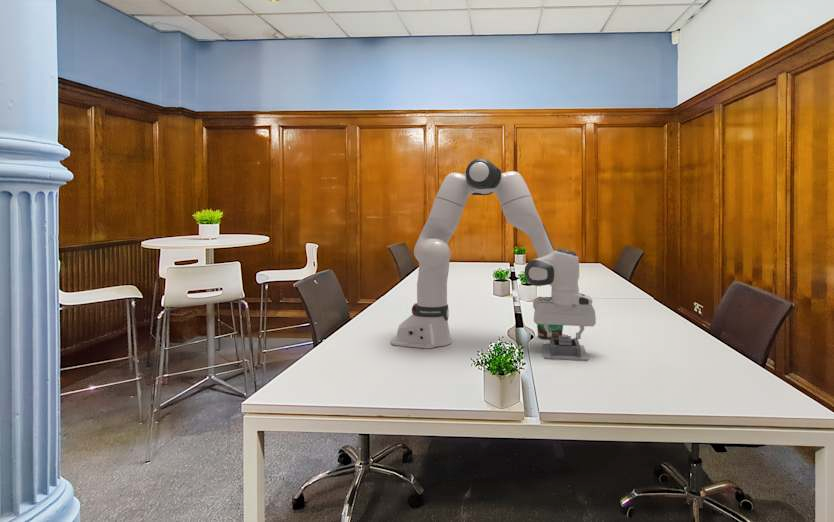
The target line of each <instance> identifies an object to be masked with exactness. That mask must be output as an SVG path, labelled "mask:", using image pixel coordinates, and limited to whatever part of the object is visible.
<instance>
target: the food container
mask: <svg viewBox="0 0 834 522" xmlns="http://www.w3.org/2000/svg"><path fill="white" fill-rule="evenodd" d="M536 327H537V338H540V339H543V340H544V339H545V340H550V337H547V332H546V330H545V328H544V324H536ZM548 330H549V331H552V337H553V338H558V335H560V336H562V335H563V330H564V325H548Z"/></svg>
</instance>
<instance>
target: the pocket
mask: <svg viewBox="0 0 834 522" xmlns="http://www.w3.org/2000/svg"><path fill="white" fill-rule="evenodd" d="M571 340H572V346H560V345H558V338H553V337H550V339H549V343H542V349H543V350H542V351H543V360H559V361H560V360H562V361H577V362H578V361H579V362H580V361H582V362H589V357H588V354H587V351H586V347H585V345H584V344H582V345H581V344H580V342H579V339H576V337H574V338H571Z"/></svg>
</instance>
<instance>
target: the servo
mask: <svg viewBox="0 0 834 522" xmlns="http://www.w3.org/2000/svg"><path fill="white" fill-rule="evenodd" d="M571 339H572V337H571V335H568V334H562V336H560V335H558V345H560V346H572V340H571Z"/></svg>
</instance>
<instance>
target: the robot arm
mask: <svg viewBox="0 0 834 522" xmlns="http://www.w3.org/2000/svg"><path fill="white" fill-rule="evenodd" d="M493 194H495V195H496V196H497V199H498V202H499V204H500V207H501V210H502V213H503V215H504V218H505V219H506V220H507V222H508V224H509V225H511V226H512V227H514V228H516V229H518V230H520V231H521V232H523V233H525V234H526V235H527V236H528V238H529V239H530V241H531V244H532V245H533V248H534V250H535V253H536V255H537V258H533V259H532V260H530V261H528V262H527V263H526V264H525V267H524V277H525V280H526V281H527V282H528V284H530V285H532V286H536V287H543V286H550V287H551V293H550V295H551V296H537V297H536V298H534V299H533V301H532V307H533V309H534V313H533V322H534V323H535V325H537V324H544V328H545V330H546V332H547V337H552V331H549V330H548V325H563V326H569V327H570V326H572V327H573V326H575V327H576V326H577V327H579V331H578V332H575V338H576V339H578V340H580V339H581V337H582V336H581V335H582V334H583V332H584V331H585V327H595V326H596V324H597V322H596V319H597V317H596V310H595V307H594V306H593V298H592V297H591V296H589V295H587V294H583V293H581V292H579V289H580V288H579V283H578V281H579V279H580V261H579V256H578V254H577V253H576V252H575V251H572V250H570V249H562V248H557V249H555V247H554V245H553V243H552V241H551V238H550V236H549V234H548V232H547V229H546V227H545V225H544V223H543V221H542V219H541V217H540V214H539V212H538V210H537V208H536V206H535V202H534V199H533V197H532V194H531V192H530V189H529V187H528V185H527V183H526V181H525V179H524V178H523V176H522V174H520V172H517V171H515V170H513V171H512V170H510V171H506V172H502V170H501V169H500V168H499V167H497V166H496V165H495V164H494V163H493V162H491V161H490V160H488V159H486V158H476V159H473V160H472V161H470V162H469V163H468V165H467V167H466V168H465V173H460V172H450V173H449V174H447V175H446V176H445V178H444V180H443V181H442V183H441V185H440V187H439V188H438V191H437V193H436V195H435V198H434V200H433V204H432V207H431V209H430V212H429V215H428V217H427V219H426V222H425V224H424V225H423V228H422V230H421V231H420V234H419V235H418V239H417V241H416V243H415V245H414V249H413V255H414V257H415V259H416V261H417V262H418V272H417V273H418V275H417V283H416V302H417V303H414V304H413V305H412V307H411V315H410V316H408V317H407V318H406V319H405V320H403V321H402V322H401V323H400V324H399V325H398V327H397V332H396V335H394V336H393V337H392V338H391V340H390V345H392V346H399V347H406V348H407V347H409V348H416V349H417V348H418V349H429V350H430V349H434V348H437V347H444V346H448V345H450V344H452V343H453V341H452V338H451V337H452V336H451V333H450V329H449V328H450V327H449V318H450V317H449V316H450V313H449V304H448V276H449V270H450V260H451V255H452V254H451V249H450V246H449V245H448V244H449V242H450V240H451V238H452V237H453V234H454V233H455V231H456V230H457V228H458V225H459V222H460V220H461V217H462V216H463V212H464V210H465V207H466V205H467V204H466V203H467V201H468V199H469V197H470V196H471V195H472V196H489V195H493Z"/></svg>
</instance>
